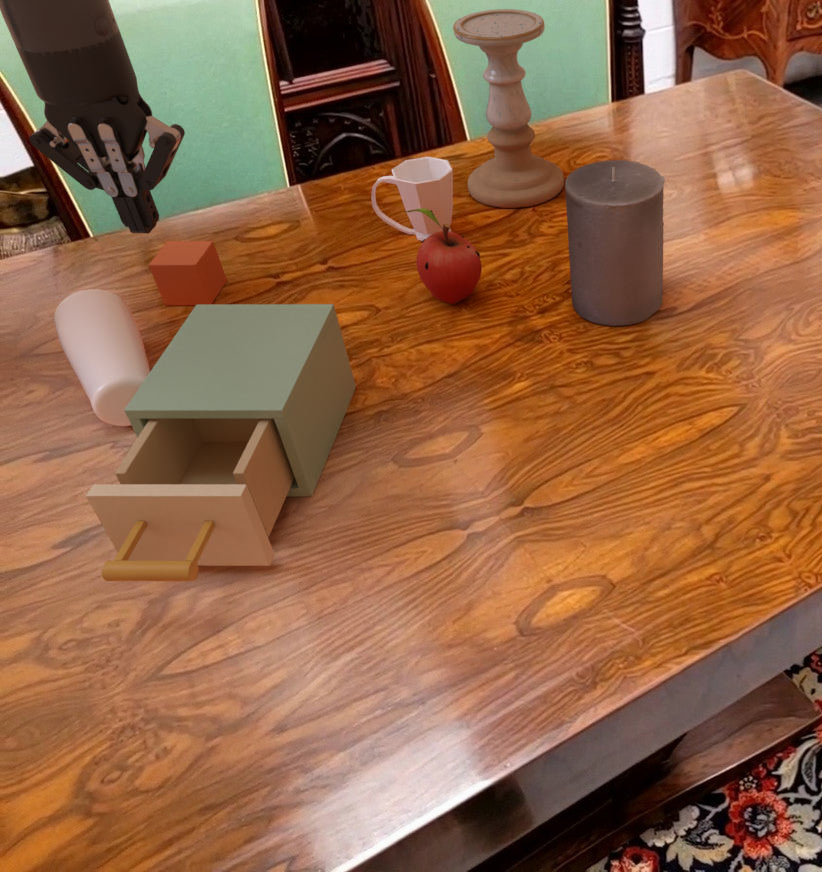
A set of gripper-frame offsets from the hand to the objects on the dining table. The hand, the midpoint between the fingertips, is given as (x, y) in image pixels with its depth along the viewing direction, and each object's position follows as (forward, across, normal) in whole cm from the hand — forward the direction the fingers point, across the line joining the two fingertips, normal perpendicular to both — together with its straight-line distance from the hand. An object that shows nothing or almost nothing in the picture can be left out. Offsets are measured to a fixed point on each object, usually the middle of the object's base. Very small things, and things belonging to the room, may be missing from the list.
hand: (144, 229), depth 85 cm
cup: (+13, -18, -24) cm, 33 cm away
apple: (+13, -24, -10) cm, 29 cm away
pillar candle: (+13, -42, -9) cm, 45 cm away
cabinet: (+13, -12, +13) cm, 23 cm away
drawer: (+12, -13, +25) cm, 31 cm away
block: (+13, +4, -10) cm, 17 cm away
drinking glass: (+11, 0, +12) cm, 16 cm away
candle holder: (+13, -28, -36) cm, 47 cm away
